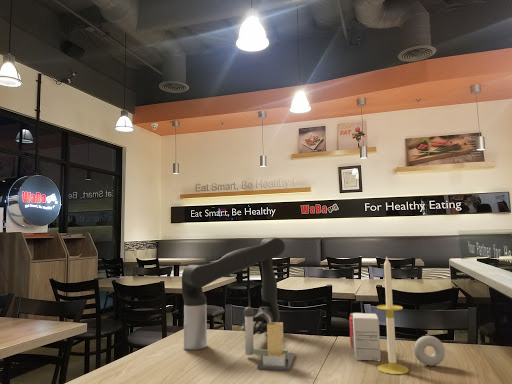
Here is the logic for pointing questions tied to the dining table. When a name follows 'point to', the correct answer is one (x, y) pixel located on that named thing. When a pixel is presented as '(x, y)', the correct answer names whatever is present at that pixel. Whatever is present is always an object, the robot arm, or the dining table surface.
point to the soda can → (351, 330)
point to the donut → (432, 359)
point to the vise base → (287, 368)
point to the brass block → (275, 337)
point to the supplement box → (366, 336)
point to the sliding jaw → (249, 334)
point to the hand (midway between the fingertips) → (251, 332)
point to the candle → (390, 326)
